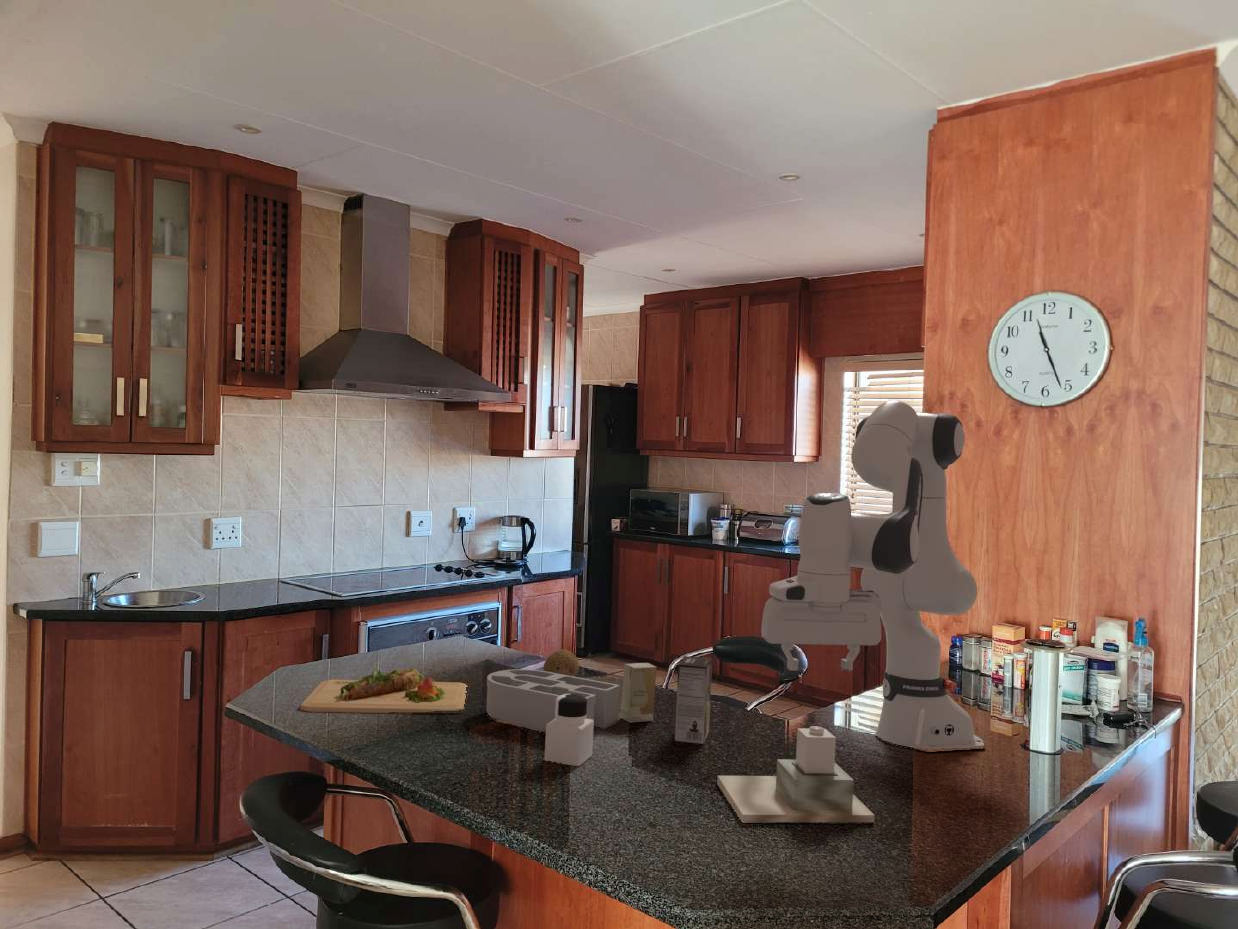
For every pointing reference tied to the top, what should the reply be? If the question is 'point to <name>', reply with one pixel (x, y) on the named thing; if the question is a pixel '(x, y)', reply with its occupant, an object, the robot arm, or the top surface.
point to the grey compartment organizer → (547, 697)
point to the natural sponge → (562, 663)
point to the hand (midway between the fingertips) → (819, 670)
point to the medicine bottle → (569, 732)
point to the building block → (815, 750)
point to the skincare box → (638, 692)
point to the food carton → (693, 699)
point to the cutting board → (387, 694)
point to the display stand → (794, 796)
